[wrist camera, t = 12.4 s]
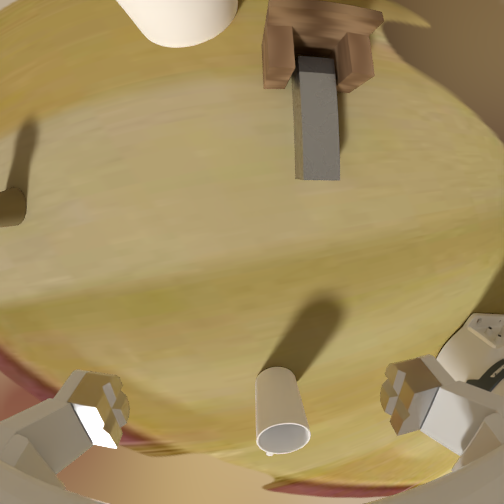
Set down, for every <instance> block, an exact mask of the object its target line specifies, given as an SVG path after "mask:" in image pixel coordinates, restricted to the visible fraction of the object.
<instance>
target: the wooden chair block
mask: <svg viewBox="0 0 504 504" xmlns="http://www.w3.org/2000/svg"><path fill="white" fill-rule="evenodd" d="M383 22H384V19H383V15H382V12H380V11H376V10H371V9H367V8H362V7H357V6H352V5H346V4H340V3H333V2H326V1H318V0H269V3H268V9H267V15H266V22H265V28H264V35H263V41H262V60H263V83H264V89H285V87H286V85H287V83H288V81H289V79H290V77H291V75H292V73H293V71H294V69H295V56H294V54H300V55H314V56H325V57H328V58H331V59H334V67H335V78H336V91H337V92H344V93H350V92H351V91H353V90H354V89H356V88H357V87H359V86H360V85H362V84H363V83H365V82H366V81H368V80H369V79H371V78H372V77H374V67H373V60H372V53H371V46H370V40H369V35H370V34H371V33H372V32H373V31H374V30H375V29H376V28H378V27H379V26H380V25H381V24H382V23H383Z"/></svg>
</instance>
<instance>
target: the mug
mask: <svg viewBox="0 0 504 504" xmlns="http://www.w3.org/2000/svg"><path fill="white" fill-rule="evenodd" d="M255 400H256V435H257V445H258V446H259V447H260V448H261V449H262V450H264V451H266V455H268V456H272V455H273V454H284V453H290V452H293V451H296V450H298V449H300V448H302V447H303V446H305V445H306V444H307V443H308V441H309V440H310V437H311V433H310V430H309V426H308V422H307V418H306V414H305V411H304V407H303V404H302V400H301V396H300V392H299V389H298V385H297V382H296V378H295V376H294V374H293V373H292V372H291V371H290V370H289V369H287V368H283V367H271V368H268V369H266V370H264V371H262V372H261V373H260V374H259V375H258V376H257V378H256V381H255Z"/></svg>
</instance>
